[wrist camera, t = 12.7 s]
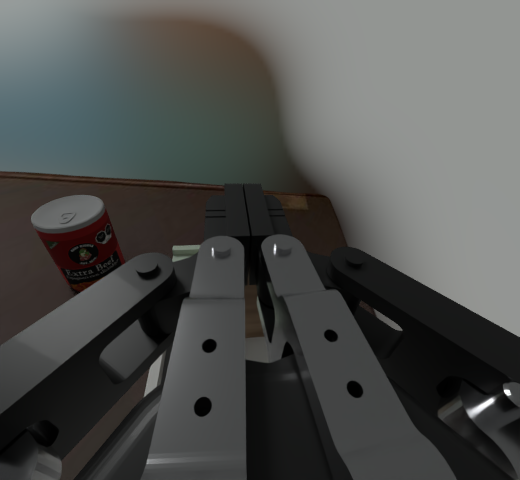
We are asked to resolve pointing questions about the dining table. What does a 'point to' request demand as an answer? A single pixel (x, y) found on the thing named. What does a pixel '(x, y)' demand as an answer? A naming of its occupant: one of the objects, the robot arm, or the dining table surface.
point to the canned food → (79, 239)
